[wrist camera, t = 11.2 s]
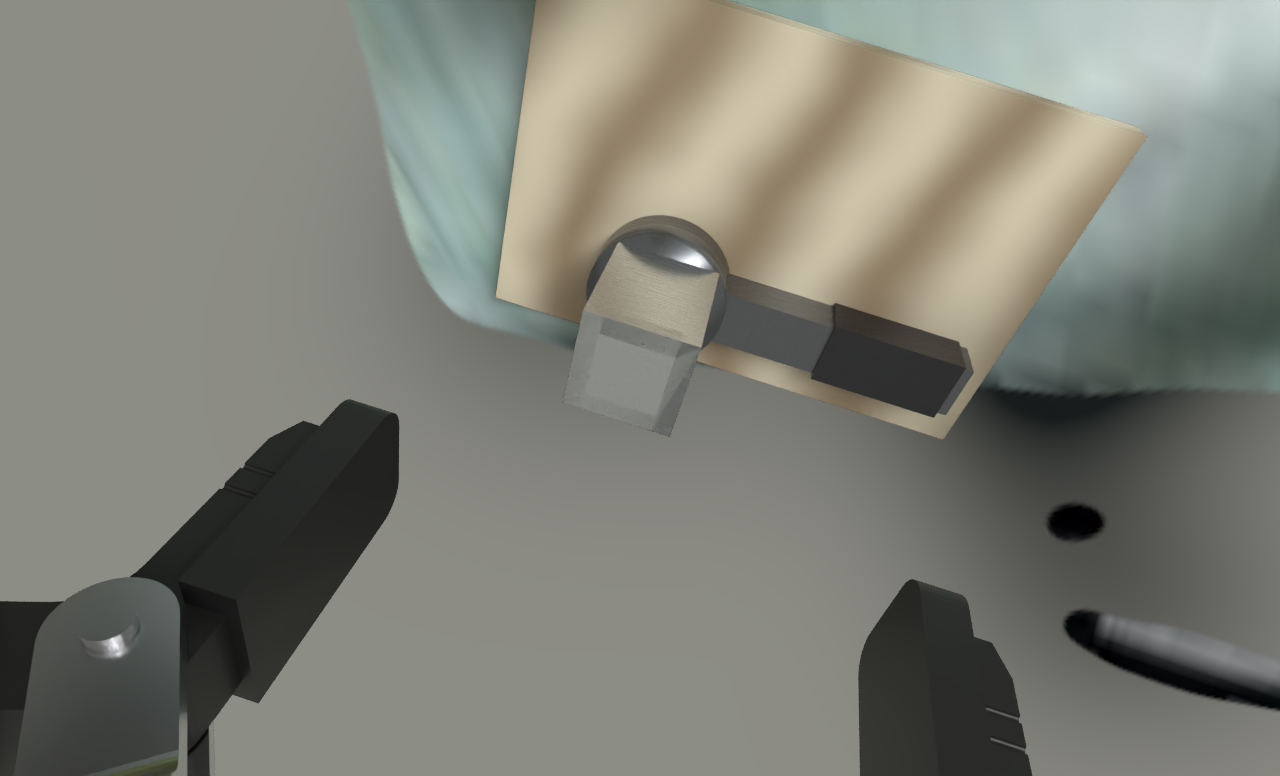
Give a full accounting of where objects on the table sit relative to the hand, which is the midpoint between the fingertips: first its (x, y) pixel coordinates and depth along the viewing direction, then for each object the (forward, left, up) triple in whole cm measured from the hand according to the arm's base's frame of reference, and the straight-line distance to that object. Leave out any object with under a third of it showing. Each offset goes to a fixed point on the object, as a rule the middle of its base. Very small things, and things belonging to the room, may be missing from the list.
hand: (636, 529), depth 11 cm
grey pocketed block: (+1, +9, -21) cm, 23 cm away
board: (-3, +5, -25) cm, 25 cm away
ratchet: (-4, +9, -24) cm, 26 cm away
